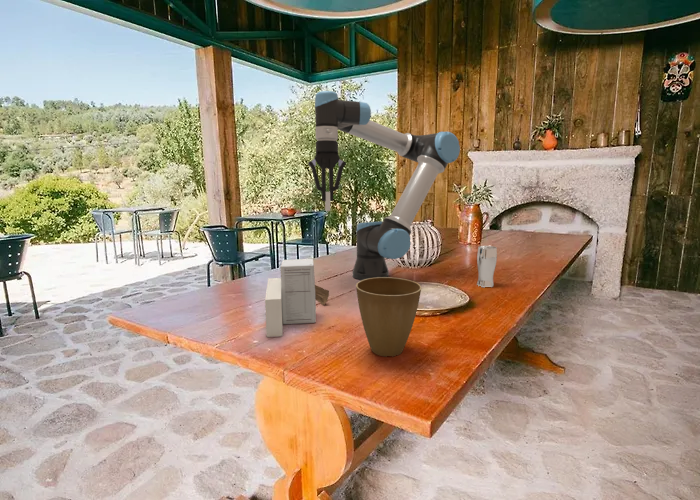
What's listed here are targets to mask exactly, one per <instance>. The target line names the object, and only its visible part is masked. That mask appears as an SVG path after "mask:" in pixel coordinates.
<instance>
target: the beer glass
mask: <svg viewBox="0 0 700 500" xmlns="http://www.w3.org/2000/svg"><path fill="white" fill-rule="evenodd" d="M477 247H478V248H477V254H476V255H477V256H476V263H477V271H478V279H477V282H476V286H477V285H478V287H479V286H481V287H480V288H485V287H491V288H493V287H494V285H495V284H494V283H495V282H494V273H495V271H496V270H495V269H496V266H497V260H498V259H497V257H498V256H497V255H498V253H497V252H498V249H497V248H498V247H497V246H495V245H494V246H493V245H479V246H477Z"/></svg>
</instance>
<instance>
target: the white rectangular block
mask: <svg viewBox="0 0 700 500" xmlns="http://www.w3.org/2000/svg"><path fill="white" fill-rule="evenodd" d="M265 291H266V292H265V299H264V304H265V305H264V308H265V328H266V329H265V330H266V334H265V335H266V338H274V337H283V316H282V294H281V277H275V278H274V277H273V278H270V277H268V278H267V285H266V290H265Z"/></svg>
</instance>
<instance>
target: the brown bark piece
mask: <svg viewBox="0 0 700 500" xmlns="http://www.w3.org/2000/svg"><path fill="white" fill-rule="evenodd" d="M329 296H330V289H329V290H328V289H325V288H323V287H321V286H318V285H316V284H315V300H316V301H317V302H318V303H320V304H321V305H322V306H324V307H325V304H326V303H327V302H328V300H329Z"/></svg>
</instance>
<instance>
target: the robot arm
mask: <svg viewBox="0 0 700 500" xmlns="http://www.w3.org/2000/svg"><path fill="white" fill-rule="evenodd" d="M314 96H315V98H314V114H315V116H314V117H315V140H316V142H315V154H314V155H315V156H314V158H313V159H312V160H311V161H309V162H308V164H307V165H308V166H309V167H310V169H311V172H312V176H313V180H314V183H315V187H316V190H317V191H320V192H321V200H322V201H321V202H324V211H326V212H331V202H333V201H334V192H335V191H338V190H339V188H340V183H341V178H342V175H343V170H344V168H345V166H346V164H347V162H346V161H343V160H341V158H340V154H339V142H338V141H337V140H338V139H339V133H338V131H341V132H342V133H343V132H344V133H347V134H348V135H352V136H355V137H357V138H360V139H363V140H365V141H368V142H370V143H372V144H375V145H378V146H380V147H383V148H386V149H389V150H391V151H392V152H393V151H394V152H396V153H397V154H398V156H400V157H402V158H405V159H407V160H410V161H413V162H416V163H418V164H417V166H416V168H415V169H414V171H413V173H412V175H411V177H410V179H409V180H408V182H407V184H406V186H405V188H404V190H403V192H402V194H401V195H400V197H399V199H398V201H397V202H396V205H395V206H394V208H393V210H392V212H391V214H390V215H389V216H386V217H384V218H383V221H382V220H381V221H370V222H369V221H367V222H359V223H357V225H356V231H355V232H356V260H355V263H354V266H353V269H352V277H353V278H354V279H356V280H359V281H361V280H364V279H369V278H377V277H390V276H389V275H390V274H389V268H388V265H387V262H386V259H390V260H397V259H398V260H399V259H400V258H403V257H404V256H405V255H406V254H407V253H408V252H409V250H410V249H411V244H412V242H411V236H410V235H411V234H412V229H411V226H412V224H413V221H414V220H415V218H416V216H417V214H418V212H419V210H420V208H421V206H422V204H423V203H424V201H425V200H426V197H427V196H428V194H429V192H430V190H431V188H432V186H433V184H434V182H435V180H436V178H437V177H438V174H442V173H444V172H445V170H446V169H447V166H448V164H451V163H453V162H456V160H457V159H458V158H459V155H460V153H461V146H460V141H459V138H458V137H457V136H456V135H455V134H454V133H452V132H451V131H439V132H437V133H429V134H423V135H422V134H421V135H417V134H412V133H411V132H406V133H402V132H400V131H397V130H395V129H393V128H390V127H388V126H386V125H383V124H380V123H378V122H375V121H373V120H372V119H371V116H372V109H371V106H370V105H369V104H368V103H367V102H363V101H354V100H345V99H344V100H343V99H339V97H338V93H337V92H336V91H332V90H321V91H319V92H317V93H316V94H315V95H314ZM336 165H338V169H337V172H336V173H337V175H336V178H335V182H334V168H335V167H336ZM316 166H318V167H320V171H321V183H320V180H319V176H318V173H317V169H316ZM326 169H328V191H327V175H326V173H327V170H326Z"/></svg>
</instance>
